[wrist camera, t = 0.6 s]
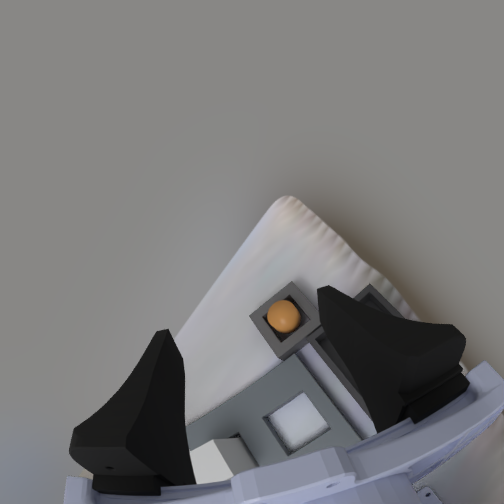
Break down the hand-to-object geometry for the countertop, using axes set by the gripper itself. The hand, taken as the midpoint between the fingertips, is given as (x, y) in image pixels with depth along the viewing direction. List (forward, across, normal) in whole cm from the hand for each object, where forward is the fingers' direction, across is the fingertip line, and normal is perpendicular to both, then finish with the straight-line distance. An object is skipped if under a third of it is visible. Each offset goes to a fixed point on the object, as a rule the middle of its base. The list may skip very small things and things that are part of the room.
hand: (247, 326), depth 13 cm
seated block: (+3, +5, +21) cm, 22 cm away
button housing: (+13, -5, +12) cm, 19 cm away
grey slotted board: (+3, +2, +19) cm, 20 cm away
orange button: (+13, -4, +11) cm, 17 cm away
